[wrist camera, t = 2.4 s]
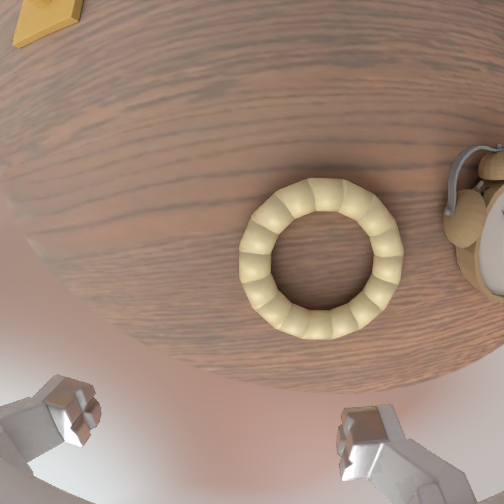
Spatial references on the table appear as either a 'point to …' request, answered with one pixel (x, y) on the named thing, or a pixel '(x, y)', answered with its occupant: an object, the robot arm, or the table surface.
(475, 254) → the alarm clock
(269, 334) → the table surface
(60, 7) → the square base peg post
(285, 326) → the segmented cream ring
